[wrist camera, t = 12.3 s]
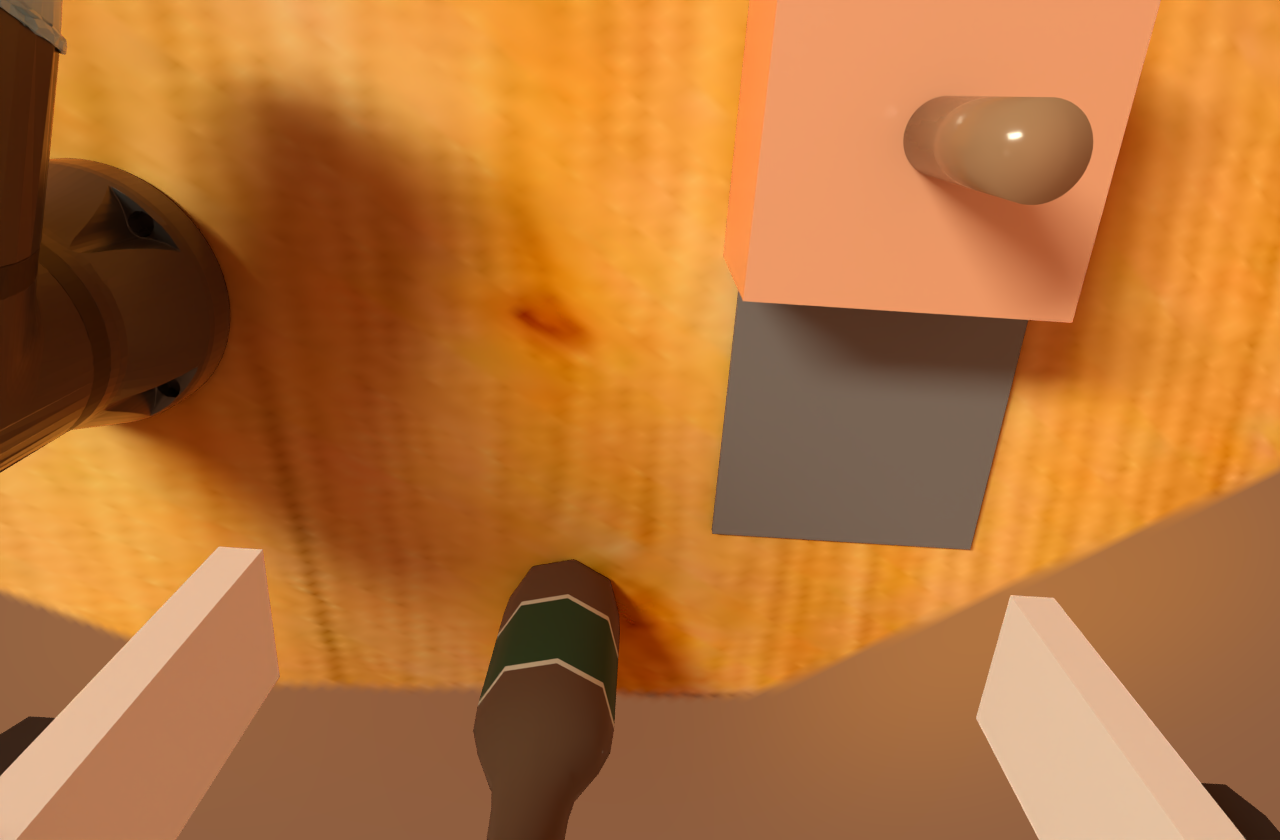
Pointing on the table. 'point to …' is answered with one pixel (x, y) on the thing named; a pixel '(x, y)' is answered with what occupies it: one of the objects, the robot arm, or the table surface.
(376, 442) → the table surface
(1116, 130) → the pink box with peg
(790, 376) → the mat
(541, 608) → the beer bottle
